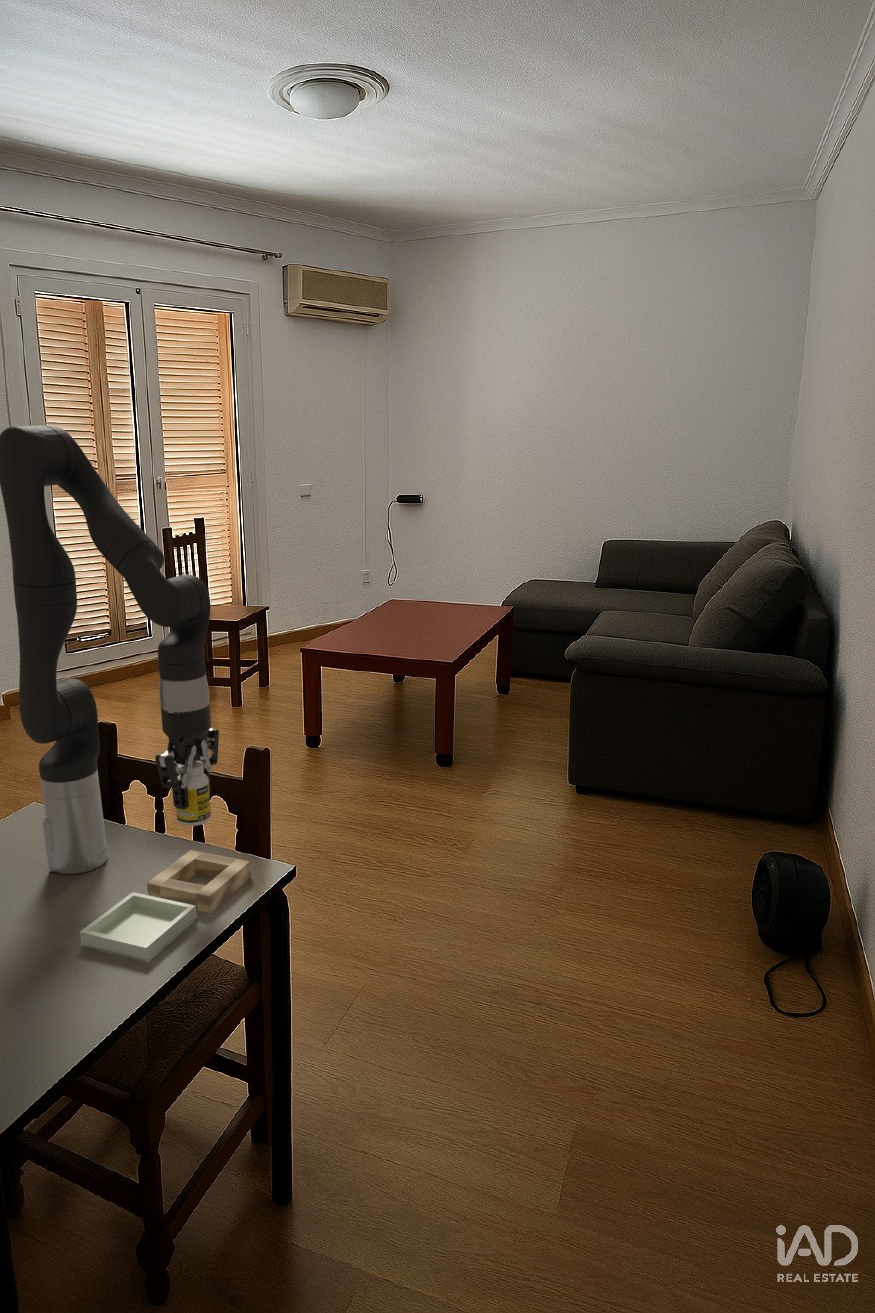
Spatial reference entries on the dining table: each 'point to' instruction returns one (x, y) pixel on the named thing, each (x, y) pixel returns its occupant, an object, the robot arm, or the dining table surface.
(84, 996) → the dining table surface
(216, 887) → the holder block
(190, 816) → the supplement bottle
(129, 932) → the tray
